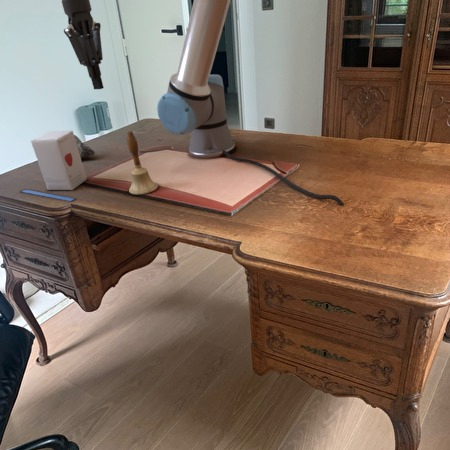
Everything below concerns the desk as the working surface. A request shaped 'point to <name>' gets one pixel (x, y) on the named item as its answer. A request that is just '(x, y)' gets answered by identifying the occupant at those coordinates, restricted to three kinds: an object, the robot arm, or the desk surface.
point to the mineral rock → (83, 148)
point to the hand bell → (139, 171)
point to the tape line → (48, 195)
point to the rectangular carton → (59, 160)
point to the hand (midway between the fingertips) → (98, 88)
